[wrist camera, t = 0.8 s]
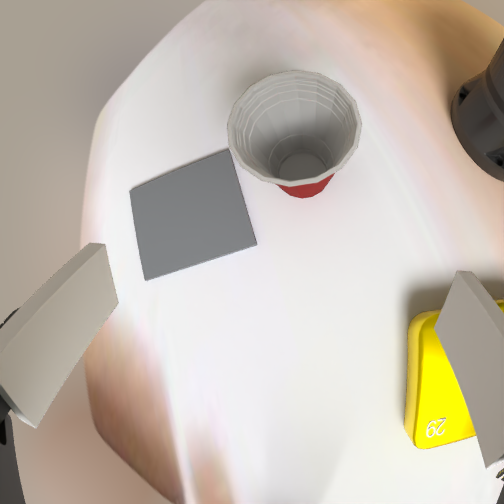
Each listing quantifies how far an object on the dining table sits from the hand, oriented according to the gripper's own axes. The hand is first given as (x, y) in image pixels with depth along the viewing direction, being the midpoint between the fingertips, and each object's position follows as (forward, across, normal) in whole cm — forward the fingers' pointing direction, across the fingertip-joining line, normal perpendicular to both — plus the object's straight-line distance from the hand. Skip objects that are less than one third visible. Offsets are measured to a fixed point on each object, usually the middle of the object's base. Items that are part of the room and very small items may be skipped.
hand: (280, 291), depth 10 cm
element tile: (+12, +22, -18) cm, 31 cm away
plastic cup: (+26, +2, -2) cm, 26 cm away
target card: (+24, -11, -7) cm, 27 cm away
